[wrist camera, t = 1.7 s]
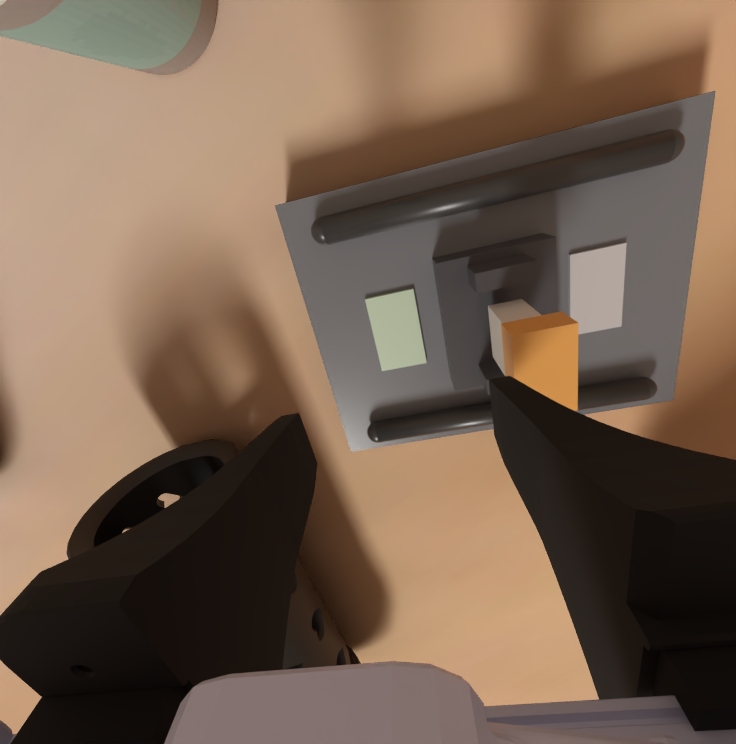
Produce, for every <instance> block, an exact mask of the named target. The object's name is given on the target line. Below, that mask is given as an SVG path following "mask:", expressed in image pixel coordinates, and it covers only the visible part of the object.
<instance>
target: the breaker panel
mask: <svg viewBox="0 0 736 744" xmlns="http://www.w3.org/2000/svg"><path fill="white" fill-rule="evenodd" d="M714 98H715V91H712V92H708V93H705V94H701V95H697V96H693V97H689V98H685V99H682V100H678V101H674V102H670V103H666V104H662V105H659V106H655V107H651V108H647V109H643V110H639V111H636V112H632V113H628V114H624V115H620V116H617V117H613V118H609V119H605V120H601V121H597V122H594V123H590V124H586V125H582V126H578V127H574V128H571V129H567V130H563V131H559V132H555V133H551V134H548V135H544V136H540V137H536V138H532V139H528V140H525V141H521V142H517V143H513V144H509V145H505V146H502V147H498V148H494V149H490V150H486V151H482V152H479V153H475V154H471V155H467V156H463V157H459V158H456V159H452V160H448V161H444V162H440V163H436V164H433V165H429V166H425V167H421V168H417V169H413V170H410V171H406V172H402V173H398V174H394V175H390V176H387V177H383V178H379V179H375V180H371V181H367V182H364V183H360V184H356V185H352V186H348V187H344V188H341V189H337V190H333V191H329V192H325V193H321V194H318V195H314V196H310V197H306V198H302V199H298V200H295V201H291V202H287V203H283V204H279V205H275V207H276V211H277V214H278V217H279V220H280V224H281V227H282V230H283V233H284V237H285V240H286V243H287V246H288V249H289V253H290V256H291V259H292V262H293V266H294V269H295V272H296V275H297V279H298V282H299V285H300V288H301V292H302V295H303V298H304V301H305V304H306V308H307V311H308V314H309V317H310V321H311V324H312V327H313V330H314V334H315V337H316V340H317V343H318V346H319V350H320V353H321V356H322V359H323V363H324V366H325V369H326V372H327V376H328V379H329V382H330V385H331V389H332V392H333V395H334V398H335V401H336V405H337V408H338V411H339V414H340V418H341V421H342V424H343V427H344V431H345V434H346V437H347V440H348V444H349V447H350V450H351V451H358V450H364V449H370V448H377V447H383V446H389V445H395V444H402V443H408V442H414V441H421V440H427V439H433V438H439V437H446V436H452V435H458V434H465V433H471V432H477V431H483V430H490V429H494V426H493V416H492V407H491V397H490V388H489V379H494V378H500V377H505V375H504V374H503V372H502V371H501V369H500V367H499V366H498V364H497V363H496V361H495V359H494V358H493V355H492V345H491V334H490V324H489V313H488V306H489V305H494V304H499V303H503V302H508V301H513V300H518V299H523V300H524V301H525V302H526V303H528V304H529V305H530V306H531V307H532V308H534V309H535V310H536V311H537V312H539V313H540V314H541V315H546V314H551V313H556V312H561V311H562V312H564V313H565V314H567V315H568V316H569V317H571V318H572V319H574V320H575V321H577V322H578V410H577V411H576V412H578V413H580V414H582V415H584V414H590V413H596V412H603V411H609V410H615V409H622V408H628V407H634V406H640V405H647V404H653V403H659V402H666V401H672V400H674V392H675V385H676V377H677V370H678V363H679V355H680V348H681V341H682V333H683V326H684V319H685V311H686V304H687V296H688V289H689V282H690V274H691V267H692V260H693V252H694V245H695V238H696V230H697V223H698V215H699V208H700V201H701V193H702V186H703V179H704V171H705V164H706V157H707V149H708V142H709V134H710V127H711V120H712V112H713V105H714Z"/></svg>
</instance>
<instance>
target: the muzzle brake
mask: <svg viewBox="0 0 736 744" xmlns="http://www.w3.org/2000/svg"><path fill="white" fill-rule="evenodd" d="M237 454H239V451H238V449H237V448H236V447H235V446H234V445H233V444H231V443H229V442H227V441H221V440H213V439H212V440H205V441H201V442H197V443H193V444H189V445H184V446H181V447H178V448H176V449H173V450H171V451H168V452H166V453H164V454H162V455H160V456H158V457H156V458H154V459H152V460H151V461H149V462H147V463H145V464H143V465H142V466H140V467H139V468H137V469H136V470H134V471H133V472H131V473H129V474H128V475H127V476H125V477H124V478H123V479H121V480H120V481H119V482H117V483H116V484H115V485H114V486H112V487H111V488H110V489H109V490H108V491H106V492H105V493H104V494H103V495H102V496H101V497H100V498H99V499H98V500H97V501H96V502H95V503H94V504H93V505H92V506H91V507H90V508H89V509H88V511H87V512H86V513H85V514H84V515H83V517H82V518H81V519H80V521H79V522H78V524H77V526H76V527H75V529H74V531H73V533H72V535H71V537H70V540H69V542H68V546H67V556H68V558H69V559H71V558H73V557H75V556H77V555H79V554H81V553H84V552H86V551H88V550H90V549H92V548H94V547H96V546H98V545H100V544H102V543H104V542H106V541H108V540H110V539H112V538H114V537H116V536H118V535H120V534H122V532H123V530H124V529H131V528H133V527H135V526H136V525H138V524H140V523H142V522H144V521H145V520H147V519H149V518H150V517H152V516H153V515H155V514H157V513H158V512H160V511H161V510H163V509H165V508H164V501H161V500H159V499H158V497H159V496H160V495H161V494H163V493H169V494H175V495H179V496H180V499H181V498H182V497H184V496H185V495H186V494H188V493H189V492H191V491H192V490H193V489H195V488H196V487H198V486H199V485H200V484H202V483H203V482H204V481H206V480H207V479H208V478H210V477H211V476H212V475H214V474H215V473H216V472H217V471H218V470H220V469H221V468H222V467H223V466H224V465H225V464H227V463H228V462H229V461H230V460H231V459H233V458H234V457H235V456H236V455H237ZM351 664H361V663H360V661H359V659H358V657H357V656H356V655H355V653H354V652H353V650H352V649H351V648H350V647H349V646H348V645H347V644H346V643H345V642H344V640H343V638H342V636H341V634H340V633H339V631H338V629H337V627H336V625H335V624H334V622H333V620H332V618H331V616H330V615H329V613H328V611H327V609H326V607H325V606H324V604H323V602H322V600H321V598H320V597H319V595H318V593H317V591H316V589H315V588H314V586H313V584H312V582H311V580H310V579H309V577H308V575H307V573H306V572H305V570H304V568H303V566H302V564H301V563H300V561H299V559H298V557H297V562H296V567H295V572H294V578H293V585H292V592H291V599H290V606H289V614H288V622H287V630H286V638H285V648H284V658H283V669H282V670H287V669H300V668H313V667H325V666H338V665H351Z"/></svg>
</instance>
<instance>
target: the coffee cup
mask: <svg viewBox="0 0 736 744" xmlns="http://www.w3.org/2000/svg"><path fill="white" fill-rule="evenodd" d="M216 13H217V0H0V36H2V37H6V38H10V39H14V40H18V41H22V42H26V43H30V44H34V45H38V46H42V47H46V48H50V49H54V50H58V51H62V52H66V53H70V54H74V55H78V56H82V57H86V58H90V59H94V60H98V61H102V62H106V63H110V64H114V65H118V66H122V67H126V68H130V69H134V70H139V71H143V72H147V73H151V74H158V75H167V74H173V73H177V72H180V71H182V70H184V69H186V68H188V67H189V66H191V65H192V64H193V63H194V62H195V61H196V60H197V59H198V58H199V57H200V56H201V55H202V53H203V52H204V50H205V49H206V47H207V45H208V43H209V41H210V38H211V36H212V33H213V30H214V26H215V20H216Z"/></svg>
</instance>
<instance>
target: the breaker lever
mask: <svg viewBox="0 0 736 744" xmlns="http://www.w3.org/2000/svg"><path fill="white" fill-rule="evenodd" d="M488 313H489V324H490V334H491V345H492V355H493V358H494V359H495V361H496V363H497V364H498V366H499V367H500V369H501V371H502V372H503V374H504V375H505V376H511V377H513V378H515V379H517V380H518V381H520V382H522V383H524V384H525V385H527V386H529V387H530V388H532V389H534V390H536V391H537V392H539V393H541V394H543V395H544V396H546V397H548V398H550V399H552V400H554V401H556V402H557V403H559V404H561V405H563V406H565V407H567V408H569V409H572V410H574V411H577V410H578V322H577V321H575V320H574V319H572V318H571V317H569V316H568V315H567V314H565V313H564V312H562V311H561V312H556V313H551V314H546V315H541V314H540V313H539V312H537V311H536V310H535V309H534V308H532V307H531V306H530V305H529V304H528V303H526V302H525V301H524V300H523V299H518V300H513V301H508V302H503V303H499V304H494V305H489V306H488Z"/></svg>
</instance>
